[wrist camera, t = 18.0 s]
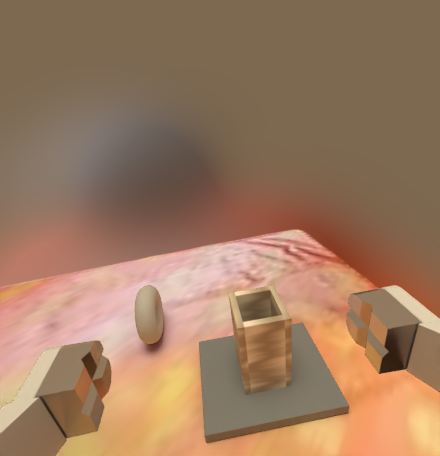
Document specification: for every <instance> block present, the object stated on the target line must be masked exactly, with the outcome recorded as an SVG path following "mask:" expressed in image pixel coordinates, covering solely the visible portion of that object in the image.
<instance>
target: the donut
mask: <svg viewBox="0 0 440 456" xmlns="http://www.w3.org/2000/svg"><path fill="white" fill-rule="evenodd" d="M135 321H136V327H137V332H138V334H139V336H140V338H141V340H142V341H143V342H144V343H146V344H153V343H156V342H157V341H159V339H160V338H161V335H162V332H163V309H162V302H161V298H160V294H159V292H158V290H157V289H156V288H155V287H153V286H151V285H147V286H144V287H143V288H141V289H140V290H139V292H138V294H137V297H136V301H135Z"/></svg>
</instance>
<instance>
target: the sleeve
mask: <svg viewBox="0 0 440 456" xmlns="http://www.w3.org/2000/svg"><path fill="white" fill-rule="evenodd" d="M229 300H230V307H231V315H232V323H233V330H234V338H235V346H236V353H237V359H238V363H239V368H240V372H241V377H242V381H243V386H244V391H245V395H249V394H253V393H258V392H263V391H268V390H273V389H278V388H283V387H287V386H292V323H291V317H290V315H289V313H288V311H287V309H286V307H285V305H284V303H283V301H282V299H281V297H280V295H279V294H278V292H277V290H276V288H275V286H274V285H273V286H267V287H262V288H256V289H251V290H245V291H239V292H234V293H229Z"/></svg>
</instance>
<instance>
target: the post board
mask: <svg viewBox="0 0 440 456" xmlns="http://www.w3.org/2000/svg"><path fill="white" fill-rule="evenodd" d="M199 349H200V365H201V381H202V397H203V413H204V429H205V438H206V442H207V443H209V442H213V441H218V440H223V439H228V438H232V437H237V436H242V435H247V434H251V433H256V432H261V431H265V430H270V429H275V428H280V427H284V426H289V425H294V424H298V423H303V422H308V421H313V420H317V419H322V418H327V417H332V416H336V415H341V414H346V413H348V410H349V405H348V403H347V401H346V399H345V397H344V396H343V394H342V392H341V390H340V388H339V387H338V385H337V383H336V381H335V380H334V378H333V376H332V374H331V372H330V371H329V369H328V367H327V365H326V363H325V362H324V360H323V358H322V356H321V354H320V353H319V351H318V349H317V347H316V346H315V344H314V342H313V340H312V338H311V337H310V335H309V333H308V331H307V329H306V328H305V326H304V324H303V323H298V324H293V325H292V386H287V387H283V388H278V389H273V390H268V391H263V392H258V393H253V394H249V395H245V391H244V386H243V381H242V377H241V372H240V368H239V363H238V359H237V353H236V346H235V338H234V336H229V337H223V338H218V339H213V340H207V341H202V342H199Z"/></svg>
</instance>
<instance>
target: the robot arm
mask: <svg viewBox="0 0 440 456" xmlns="http://www.w3.org/2000/svg"><path fill="white" fill-rule="evenodd" d="M348 305H349V306H350V307H351V309H350V311H349V312H348V313H347V317H346V323H347V327H348V331H349V333H350V335H351V337H352V338H353V340H354V341H355V342H356V343H357V344H358V345H360V346H362V347H364V348H365V356H366V357H367V359H368V360H369V361H370V363H371V364H372V365H373V367H374V368H375V369H376V371H377V372H378V373H379V374H381V373H387V372H393V371H399V370H405V369H407V370H406V371H408V372H409V373H411V374H412V375H414V376H415V377H417V378H418V379H420V380H421V381H423V382H424V383H426V384H428V385H429V386H431V387H432V388H434V389H435V390H437V391H438V392H440V319H439V318H438V317H437V316H435V315H434V314H433V313H432V312H430V311H429V310H428V309H427V308H425V307H424V306H423V305H422V304H420V303H419V302H418V301H416V300H415V299H414V298H413V297H412V296H410V295H409V294H408V293H407V292H406V291H404V290H403V289H402V288H401V287H398V286H395V285H394V286H389V287H384V288H380V289H374V290H369V291H364V292H359V293H353V294H350V296H349V298H348ZM102 352H103V347H102V344H101V342H100V341H90V342H84V343H77V344H71V345H65V346H61V347H54V348H48V349H46V350H45V351H44V352H42V354H41V356H40V357H39V359H38V361H37V362H36V364H35V366H34V367H33V369H32V371H31V372H30V374H29V376H28V377H27V379H26V381H25V382H24V384H23V386H22V387H21V389H20V391H19V392H18V394H17V396H16V397H15V399H14V401H13V402H11V403H7V404H5V405H4V406H3V407H2V408H1V409H0V456H55V455H56V454H57V453H58V451H59V450H60V449H61V447H62V446H63V444H64V443H65V442H66V438H70V437H74V436H79V435H83V434H87V433H91V432H96V431H98V428H99V424H100V420H101V417H102V413H103V410H104V405H103V403H102V398H103V397H104V396H105V395H106V394H107V393H108V391H109V388H110V384H111V366H110V363H109V360H108V359H107V358H106V357H104V356H102Z"/></svg>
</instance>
